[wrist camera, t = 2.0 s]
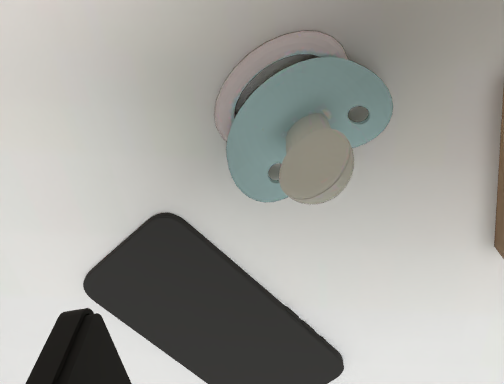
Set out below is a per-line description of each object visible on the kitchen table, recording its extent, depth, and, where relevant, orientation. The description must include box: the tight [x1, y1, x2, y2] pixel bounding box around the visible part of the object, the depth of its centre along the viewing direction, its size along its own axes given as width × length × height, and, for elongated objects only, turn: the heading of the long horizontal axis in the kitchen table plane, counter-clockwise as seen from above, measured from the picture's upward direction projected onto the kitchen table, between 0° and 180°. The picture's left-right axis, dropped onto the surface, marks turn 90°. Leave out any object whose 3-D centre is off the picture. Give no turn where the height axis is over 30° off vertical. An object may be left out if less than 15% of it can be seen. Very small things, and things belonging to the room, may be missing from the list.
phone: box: [83, 213, 344, 384], centre depth 27 cm, size 7×1×15 cm
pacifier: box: [214, 31, 393, 204], centre depth 19 cm, size 7×6×6 cm
